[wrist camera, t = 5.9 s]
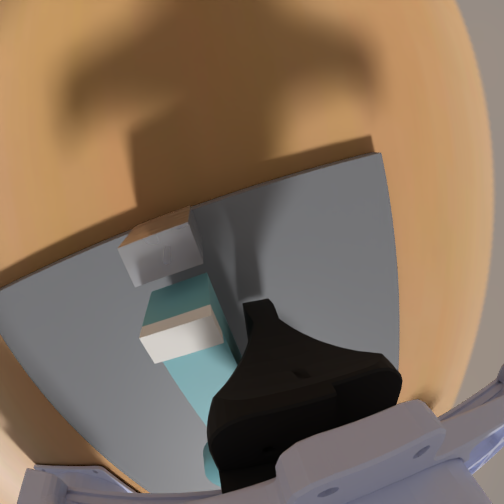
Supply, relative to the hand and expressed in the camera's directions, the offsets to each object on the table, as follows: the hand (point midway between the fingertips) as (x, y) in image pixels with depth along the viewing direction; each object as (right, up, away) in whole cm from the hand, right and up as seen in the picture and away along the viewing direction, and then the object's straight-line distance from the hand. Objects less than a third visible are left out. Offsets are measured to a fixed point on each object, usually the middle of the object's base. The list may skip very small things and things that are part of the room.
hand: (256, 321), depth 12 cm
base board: (-2, -6, +4) cm, 7 cm away
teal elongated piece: (-1, -4, +1) cm, 4 cm away
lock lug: (-4, +4, 0) cm, 5 cm away
